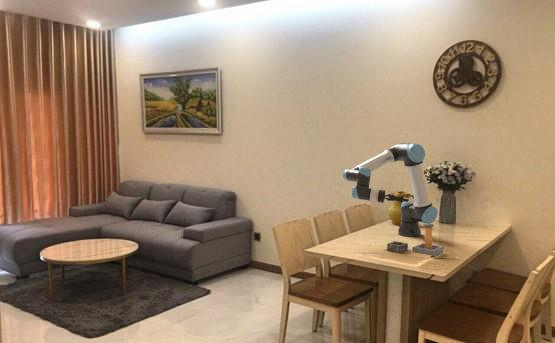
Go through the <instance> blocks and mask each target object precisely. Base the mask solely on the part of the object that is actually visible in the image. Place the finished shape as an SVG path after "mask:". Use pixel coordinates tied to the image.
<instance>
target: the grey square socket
mask: <svg viewBox="0 0 555 343" xmlns="http://www.w3.org/2000/svg"><path fill="white" fill-rule="evenodd" d="M383 252H389V253H394V254H399V255H404V254H406V253H408V252H412V249H409V243H407V242H402V241H396V240H394V241H390V242H388V243H386V249H384V250H383Z"/></svg>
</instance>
